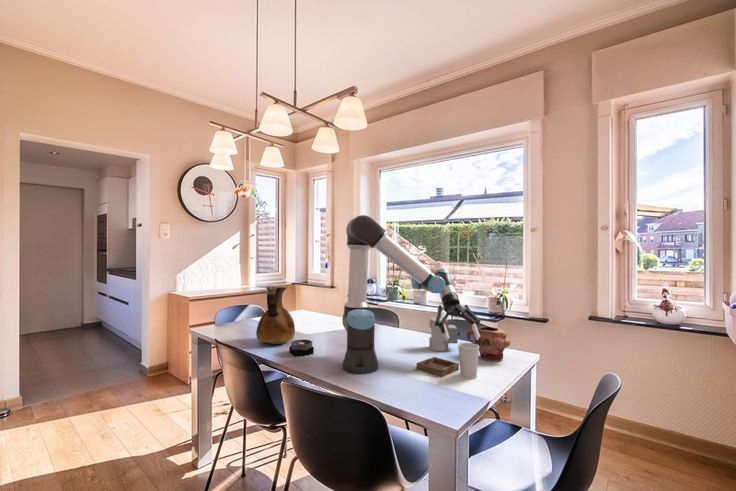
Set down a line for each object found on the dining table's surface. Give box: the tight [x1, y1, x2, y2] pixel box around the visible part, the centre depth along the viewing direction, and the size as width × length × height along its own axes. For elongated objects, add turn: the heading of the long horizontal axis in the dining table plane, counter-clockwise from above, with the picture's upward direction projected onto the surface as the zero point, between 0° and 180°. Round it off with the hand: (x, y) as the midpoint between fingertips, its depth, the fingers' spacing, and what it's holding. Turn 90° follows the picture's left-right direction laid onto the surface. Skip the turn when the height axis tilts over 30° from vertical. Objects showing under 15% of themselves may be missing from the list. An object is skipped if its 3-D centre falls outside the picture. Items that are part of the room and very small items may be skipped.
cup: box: [457, 342, 480, 380], centre depth 137 cm, size 8×8×12 cm
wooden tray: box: [416, 356, 460, 378], centre depth 144 cm, size 12×12×3 cm
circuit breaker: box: [428, 316, 461, 352], centre depth 175 cm, size 8×14×15 cm, turn 89°
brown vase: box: [255, 285, 296, 345], centre depth 184 cm, size 20×20×30 cm
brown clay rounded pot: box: [466, 326, 511, 362], centre depth 160 cm, size 20×12×14 cm, turn 56°
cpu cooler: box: [288, 339, 315, 358], centre depth 166 cm, size 10×6×10 cm
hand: (463, 338), depth 145 cm, fingers open, 13 cm apart
